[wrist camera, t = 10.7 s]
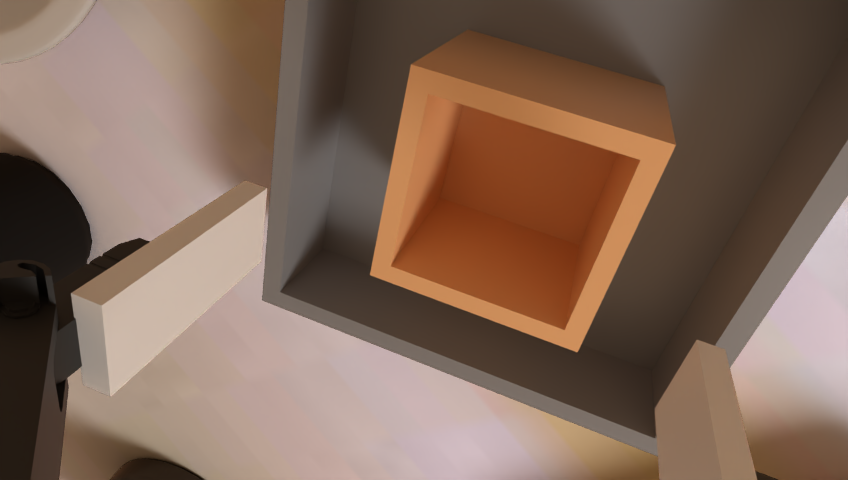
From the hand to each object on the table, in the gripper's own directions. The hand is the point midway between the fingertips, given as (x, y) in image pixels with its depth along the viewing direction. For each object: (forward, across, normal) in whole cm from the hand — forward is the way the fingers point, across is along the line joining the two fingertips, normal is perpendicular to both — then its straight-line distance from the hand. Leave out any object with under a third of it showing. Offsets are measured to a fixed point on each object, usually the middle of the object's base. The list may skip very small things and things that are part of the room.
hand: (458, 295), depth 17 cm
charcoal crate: (+14, 0, 0) cm, 14 cm away
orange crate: (+13, 0, 0) cm, 13 cm away
